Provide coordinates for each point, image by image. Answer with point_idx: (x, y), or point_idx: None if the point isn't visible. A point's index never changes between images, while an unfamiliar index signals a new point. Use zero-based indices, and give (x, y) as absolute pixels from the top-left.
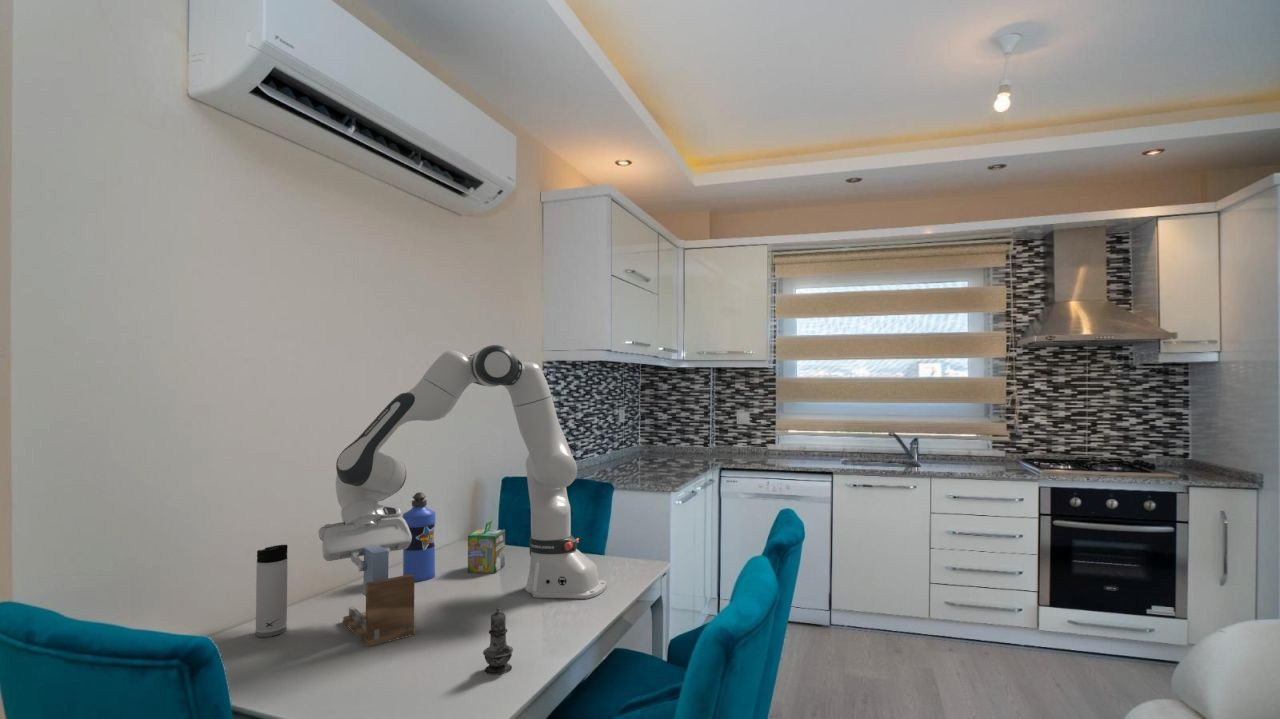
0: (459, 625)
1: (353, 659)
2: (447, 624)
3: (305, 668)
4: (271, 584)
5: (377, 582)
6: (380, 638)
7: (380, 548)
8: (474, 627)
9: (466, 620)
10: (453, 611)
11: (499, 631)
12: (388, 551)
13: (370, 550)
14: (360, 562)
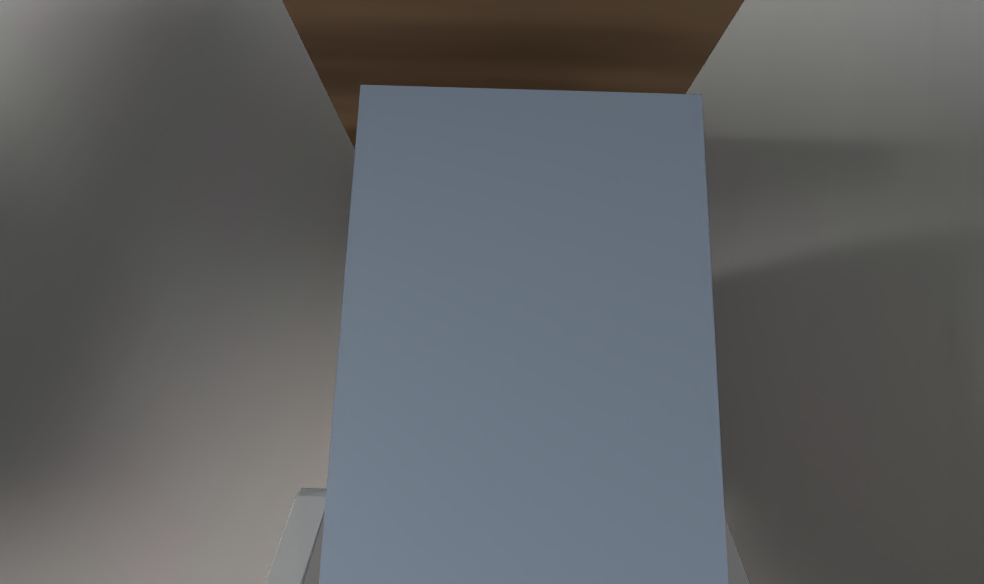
0: (151, 127)
1: (705, 67)
2: (186, 183)
3: (897, 110)
4: None
5: None
6: None
7: (412, 449)
8: (116, 52)
9: (82, 169)
10: (40, 360)
11: None
12: (364, 97)
13: (681, 402)
14: (735, 574)
